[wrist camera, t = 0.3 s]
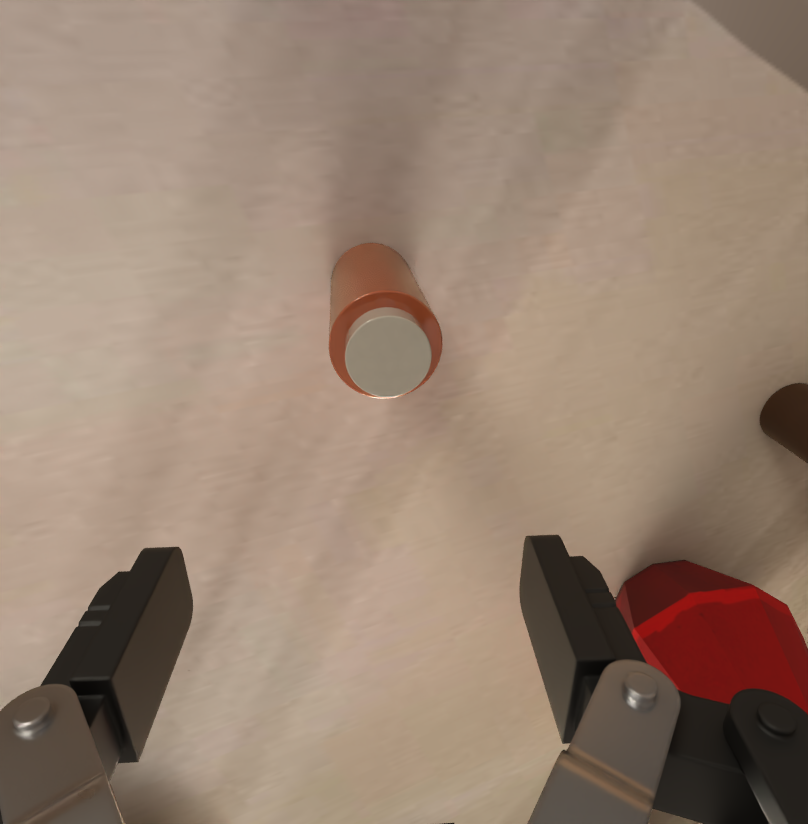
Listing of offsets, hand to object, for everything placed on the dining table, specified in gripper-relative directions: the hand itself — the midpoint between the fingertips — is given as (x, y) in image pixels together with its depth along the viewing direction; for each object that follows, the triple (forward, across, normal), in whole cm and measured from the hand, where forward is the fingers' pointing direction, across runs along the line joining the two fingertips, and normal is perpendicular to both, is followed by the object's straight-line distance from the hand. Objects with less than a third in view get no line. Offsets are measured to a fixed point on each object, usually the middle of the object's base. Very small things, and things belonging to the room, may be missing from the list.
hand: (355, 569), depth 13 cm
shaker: (+20, 0, -2) cm, 20 cm away
